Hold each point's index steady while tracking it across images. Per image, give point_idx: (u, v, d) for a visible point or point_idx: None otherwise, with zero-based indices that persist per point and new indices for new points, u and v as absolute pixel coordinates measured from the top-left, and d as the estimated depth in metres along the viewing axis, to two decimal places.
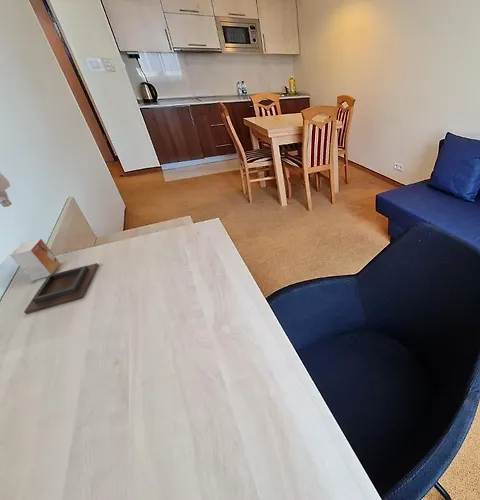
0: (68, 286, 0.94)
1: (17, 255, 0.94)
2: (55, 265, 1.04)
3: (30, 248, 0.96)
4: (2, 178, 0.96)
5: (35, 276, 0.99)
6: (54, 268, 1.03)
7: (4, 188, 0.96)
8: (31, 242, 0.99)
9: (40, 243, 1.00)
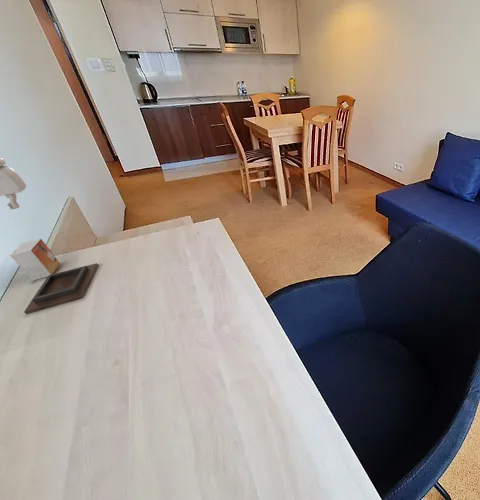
0: (68, 286, 0.94)
1: (17, 255, 0.94)
2: (55, 265, 1.04)
3: (30, 248, 0.96)
4: None
5: (35, 276, 0.99)
6: (54, 268, 1.03)
7: None
8: (31, 242, 0.99)
9: (40, 243, 1.00)
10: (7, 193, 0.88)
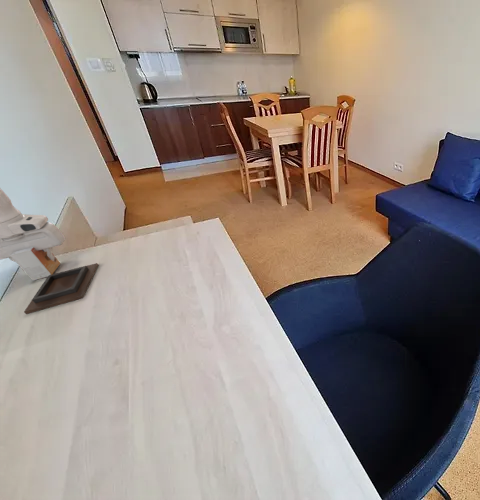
0: (68, 286, 0.94)
1: (17, 255, 0.94)
2: (55, 265, 1.04)
3: (30, 248, 0.96)
4: None
5: (35, 276, 0.99)
6: (54, 268, 1.03)
7: None
8: None
9: None
10: (50, 246, 0.98)
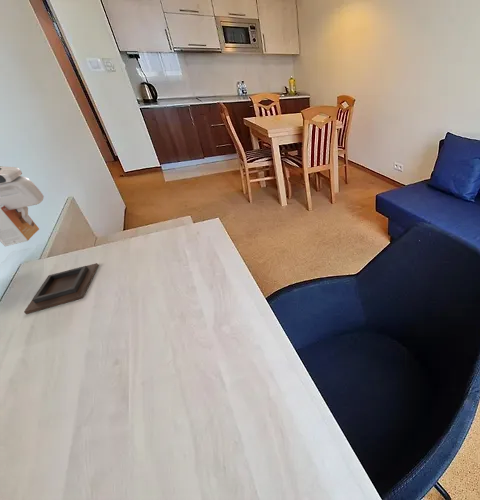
0: (68, 286, 0.94)
1: None
2: (33, 230, 0.88)
3: (0, 206, 0.80)
4: None
5: (7, 241, 0.83)
6: (31, 233, 0.87)
7: None
8: None
9: None
10: (24, 205, 0.83)
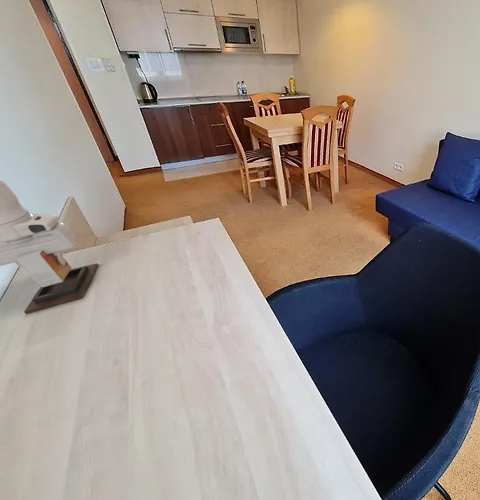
0: (68, 286, 0.94)
1: (24, 259, 0.84)
2: (66, 270, 0.93)
3: (39, 251, 0.85)
4: None
5: (44, 283, 0.89)
6: (65, 273, 0.92)
7: None
8: None
9: None
10: (61, 249, 0.88)
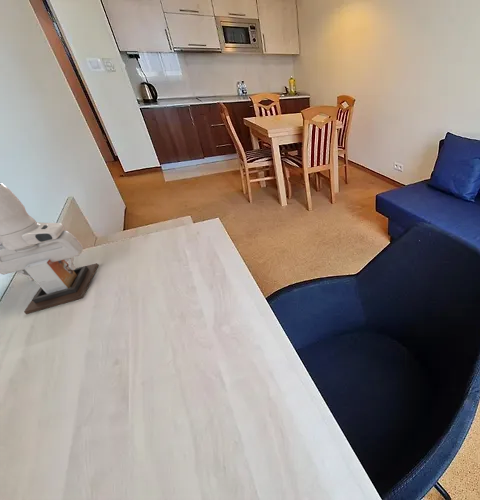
0: None
1: (32, 268, 0.86)
2: (72, 278, 0.95)
3: (46, 260, 0.87)
4: None
5: (51, 290, 0.90)
6: (71, 281, 0.94)
7: None
8: None
9: None
10: (66, 257, 0.89)
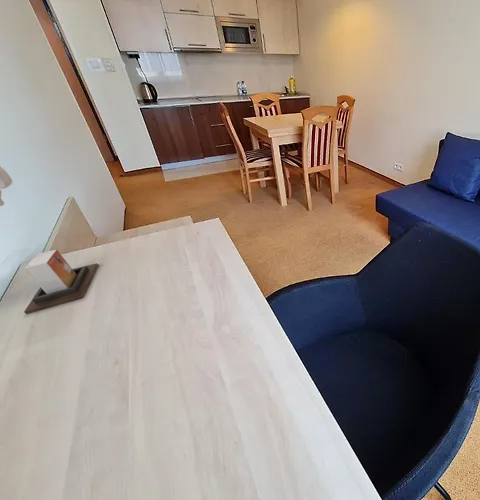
0: None
1: (32, 268, 0.86)
2: (72, 278, 0.95)
3: (46, 260, 0.87)
4: None
5: (51, 290, 0.90)
6: (71, 281, 0.94)
7: None
8: (46, 253, 0.91)
9: (56, 254, 0.91)
10: None
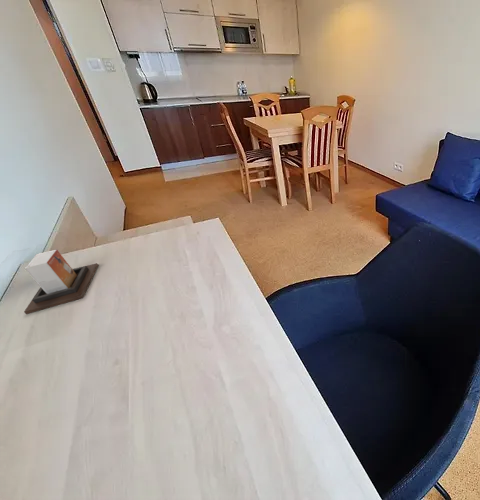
0: None
1: (32, 268, 0.86)
2: (72, 278, 0.95)
3: (46, 260, 0.87)
4: None
5: (51, 290, 0.90)
6: (71, 281, 0.94)
7: None
8: (46, 253, 0.91)
9: (56, 254, 0.91)
10: None
